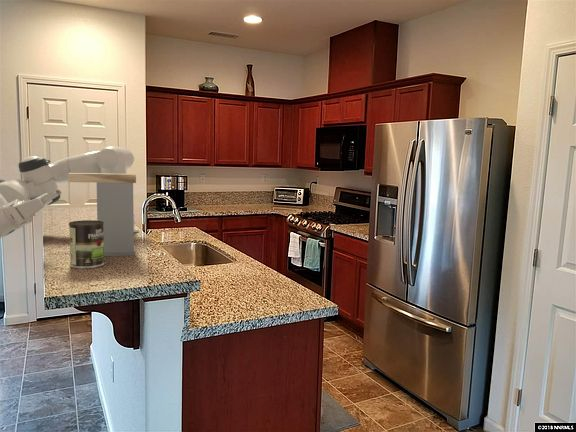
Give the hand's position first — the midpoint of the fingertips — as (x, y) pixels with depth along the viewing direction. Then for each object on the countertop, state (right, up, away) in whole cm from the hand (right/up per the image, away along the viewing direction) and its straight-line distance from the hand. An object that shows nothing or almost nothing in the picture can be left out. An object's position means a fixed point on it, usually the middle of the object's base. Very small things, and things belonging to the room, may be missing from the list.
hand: (58, 192), depth 154 cm
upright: (+16, -22, +9) cm, 29 cm away
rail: (+14, +4, +5) cm, 15 cm away
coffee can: (+14, -24, -8) cm, 29 cm away
